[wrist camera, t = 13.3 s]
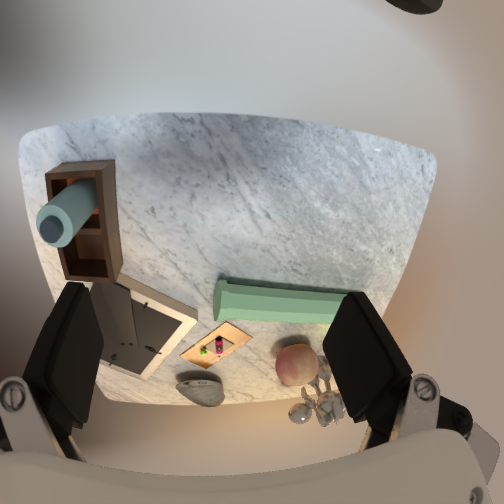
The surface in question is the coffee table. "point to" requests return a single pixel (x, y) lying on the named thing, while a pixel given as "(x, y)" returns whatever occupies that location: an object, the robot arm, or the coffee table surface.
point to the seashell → (202, 392)
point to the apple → (297, 364)
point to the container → (273, 304)
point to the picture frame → (138, 325)
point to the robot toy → (319, 400)
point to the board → (216, 345)
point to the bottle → (67, 212)
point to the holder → (91, 224)
